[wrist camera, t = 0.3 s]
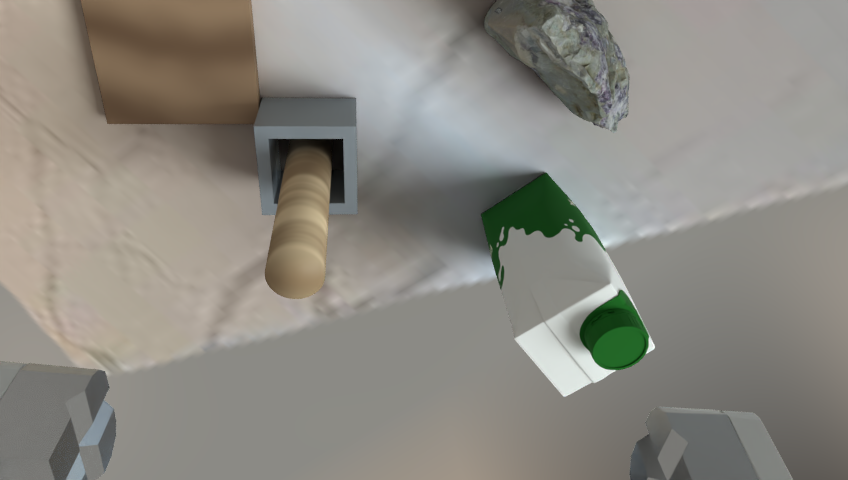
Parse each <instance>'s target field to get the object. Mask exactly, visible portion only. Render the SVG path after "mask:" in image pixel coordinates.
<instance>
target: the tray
mask: <svg viewBox="0 0 848 480" xmlns="http://www.w3.org/2000/svg"><path fill="white" fill-rule="evenodd" d="M81 4H82V9H83V14H84V18H85V23H86V27H87V32H88V37H89V41H90V46H91V50H92V55H93V60H94V64H95V69H96V73H97V78H98V83H99V87H100V92H101V96H102V101H103V106H104V110H105V115H106V119H107V124H254V123H255V120H256V117H257V114H258V110H259V107H260V104H261V103H260V92H259V81H258V70H257V60H256V49H255V38H254V27H253V16H252V5H251V0H81Z"/></svg>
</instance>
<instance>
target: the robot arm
mask: <svg viewBox="0 0 848 480" xmlns="http://www.w3.org/2000/svg"><path fill="white" fill-rule="evenodd" d="M108 390H109V384H108V380H107V376H106V373H105V371H102V370H97V369H86V368H76V367H65V366H53V365H42V364H32V363H28V364H27V363H15V362H4V361H0V480H96V479H97V478H99V477H100V476H101V475H103V474H104V473H105V471H106V468H107V466H108V463H109V461H110V458H111V456H112V451H113V447H114V442H115V437H116V418H115V412H114V409H113V408H112V407H111V406H110V405H109V404H108V403H107V402H105V401H104V398H105V396H106V394H107V392H108ZM645 423H646V426H647V429H648V432H649V434H648V435H647V436H645V437H644V438H642V439H641V440H639V441H637V443H636V445H635V448H634V450H633V453H632V455H631V463H630V480H793V479H792V477H791V475H790V473H789V471H788V470H787V468H786V466H785V464H784V462H783V460H782V458H781V456H780V455H779V453H778V451H777V449H776V447H775V445H774V443H773V442H772V440H771V438H770V436H769V434H768V432H767V430H766V428H765V427H764V425H763V423H762V421H761V419H760V418H759V417H758V416H756V415H755V414H754V413H751V412H736V411H717V410H707V409H690V408H672V407H656V408H655V409H653V410H652V411H651V412H650V414H649V416H648V418H647V420H646V422H645Z"/></svg>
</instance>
